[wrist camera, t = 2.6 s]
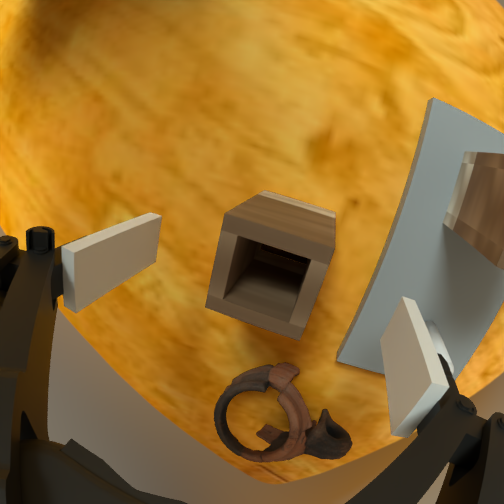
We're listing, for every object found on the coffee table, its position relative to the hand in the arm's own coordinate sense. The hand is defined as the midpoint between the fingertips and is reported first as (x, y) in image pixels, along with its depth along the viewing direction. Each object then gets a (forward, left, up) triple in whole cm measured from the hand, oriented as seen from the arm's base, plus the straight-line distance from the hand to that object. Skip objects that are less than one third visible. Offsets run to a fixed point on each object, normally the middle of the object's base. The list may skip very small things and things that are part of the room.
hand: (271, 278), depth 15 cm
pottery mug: (+15, +5, -7) cm, 17 cm away
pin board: (-2, +12, -7) cm, 14 cm away
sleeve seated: (-7, +12, -6) cm, 15 cm away
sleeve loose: (0, 0, -7) cm, 7 cm away
